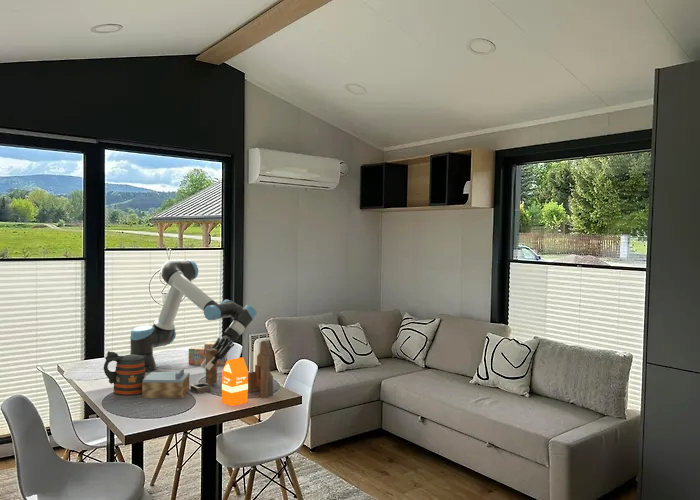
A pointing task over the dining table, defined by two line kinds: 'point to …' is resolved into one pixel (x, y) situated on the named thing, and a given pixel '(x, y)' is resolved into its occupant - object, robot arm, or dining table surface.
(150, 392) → the toolbox
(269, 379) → the wooden toy
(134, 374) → the beer stein
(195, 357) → the stack of blocks
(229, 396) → the orange juice
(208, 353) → the pin
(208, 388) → the socket
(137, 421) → the dining table surface
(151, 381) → the lid
